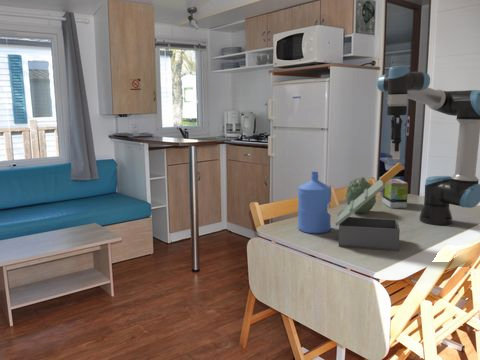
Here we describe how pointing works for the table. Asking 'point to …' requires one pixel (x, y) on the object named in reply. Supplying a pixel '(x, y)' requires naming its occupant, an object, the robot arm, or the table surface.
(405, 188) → the tea box
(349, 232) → the parts tub
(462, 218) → the table surface
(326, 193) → the water jug
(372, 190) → the lid
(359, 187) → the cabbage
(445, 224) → the robot arm
